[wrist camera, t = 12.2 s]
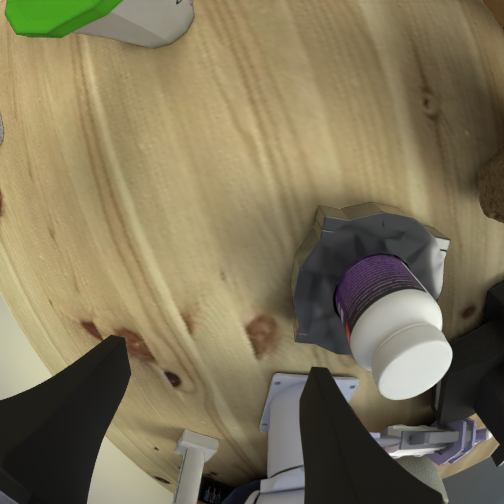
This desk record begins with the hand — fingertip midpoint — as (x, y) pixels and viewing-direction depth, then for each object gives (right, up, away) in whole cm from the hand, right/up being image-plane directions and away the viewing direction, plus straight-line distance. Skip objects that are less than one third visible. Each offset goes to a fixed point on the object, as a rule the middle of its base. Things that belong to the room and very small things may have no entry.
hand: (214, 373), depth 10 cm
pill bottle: (+10, +3, +10) cm, 14 cm away
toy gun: (+25, -16, +10) cm, 32 cm away
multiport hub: (-4, -35, +24) cm, 43 cm away
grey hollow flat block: (+10, +3, +10) cm, 14 cm away
